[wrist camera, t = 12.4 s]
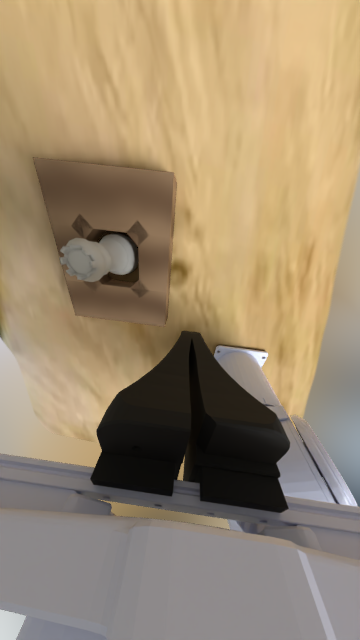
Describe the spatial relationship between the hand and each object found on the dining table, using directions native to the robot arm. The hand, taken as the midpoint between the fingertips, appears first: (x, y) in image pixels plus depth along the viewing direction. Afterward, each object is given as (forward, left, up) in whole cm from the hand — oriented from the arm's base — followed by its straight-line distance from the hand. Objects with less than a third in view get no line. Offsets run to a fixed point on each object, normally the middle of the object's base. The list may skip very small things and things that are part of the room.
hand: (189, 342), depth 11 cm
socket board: (+4, +9, -10) cm, 14 cm away
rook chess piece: (+4, +9, -10) cm, 14 cm away
